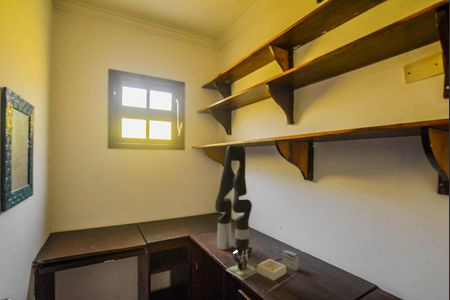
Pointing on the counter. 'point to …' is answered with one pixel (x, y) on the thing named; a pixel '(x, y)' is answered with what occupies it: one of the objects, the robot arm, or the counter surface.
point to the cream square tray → (273, 275)
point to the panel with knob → (239, 276)
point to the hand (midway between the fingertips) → (242, 267)
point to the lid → (244, 271)
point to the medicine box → (290, 260)
